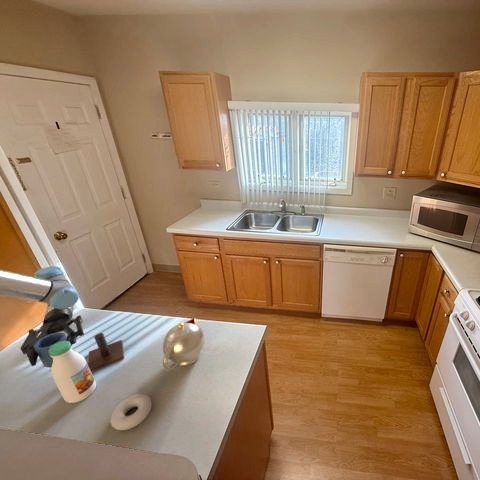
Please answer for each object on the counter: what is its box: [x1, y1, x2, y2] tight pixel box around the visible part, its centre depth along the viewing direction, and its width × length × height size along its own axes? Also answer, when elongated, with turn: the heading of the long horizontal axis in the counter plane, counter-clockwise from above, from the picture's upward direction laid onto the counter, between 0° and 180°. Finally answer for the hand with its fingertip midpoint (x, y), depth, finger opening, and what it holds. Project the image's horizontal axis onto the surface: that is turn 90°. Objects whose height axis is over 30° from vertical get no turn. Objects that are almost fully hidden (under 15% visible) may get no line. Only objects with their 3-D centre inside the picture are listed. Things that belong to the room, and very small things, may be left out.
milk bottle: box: [48, 341, 97, 404], centre depth 78 cm, size 8×8×20 cm
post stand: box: [87, 332, 125, 372], centre depth 93 cm, size 10×10×10 cm
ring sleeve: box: [34, 332, 67, 369], centre depth 84 cm, size 7×7×8 cm
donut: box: [110, 393, 152, 432], centre depth 76 cm, size 10×4×10 cm
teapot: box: [162, 317, 206, 372], centre depth 91 cm, size 18×14×16 cm
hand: (50, 356), depth 80 cm, fingers closed on ring sleeve, 7 cm apart
